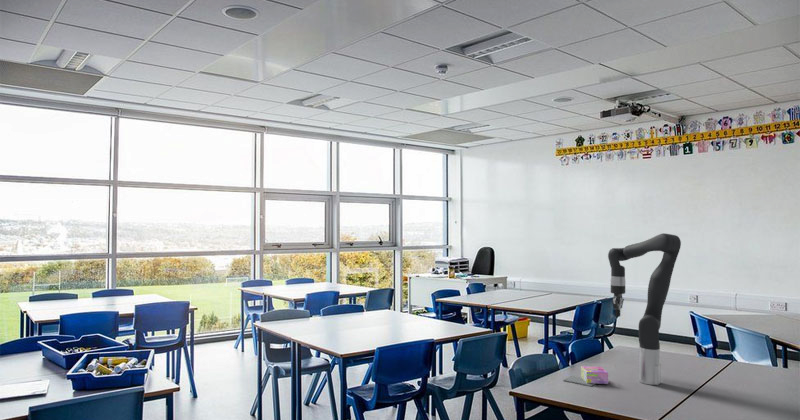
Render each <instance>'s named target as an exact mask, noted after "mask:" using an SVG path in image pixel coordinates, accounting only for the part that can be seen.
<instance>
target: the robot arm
mask: <svg viewBox="0 0 800 420" xmlns="http://www.w3.org/2000/svg"><path fill="white" fill-rule="evenodd" d="M681 246H682V241H681V239H680V237H679V236H678V235H676V234H671V233H660V234H657V235H655V236H653V237H651V238H648V239H645V240H644V241H641V242H638V243H637V242H635V243H632V244H629V245H626V246H625V247H620V248H619V247H614V248H610V250H609V251H608V254H607V259H608V261H609V265H610V269H611V270H610V272H611V274H610V293H611V294H613V299H612V300H611V303H612V306H613V310H615V317H617V318H618V317H621V309H622V308H623V305H624V301H625V298H623V295H625V294H626V268H625V265H621V263H620V262H625V261H628V260H630V259H636V258H639V257H643V256H645V255H646V254H648V253H650V252H663V255H662V258H661V261H660V262H659V264H658V265H657V266H656V268H655V269H654V270H653V271H652V273H651V275H650V278H649V282H648V287H647V302H646V306H645V307H646V308H645V311H644V313H643V316H642V318H641V319H640V320H639V322H638V343H639V356H638V357H639V359H638V360H639V365H638V366H639V378H638V379H639V382H640V383H641V384H645V385H653V386H659V385H660V384H662V364H661V363H660V361H661V360H660V358H661V356H660V353H661V345H660V344H661V343H660V328H661V324H662V322H661V321H662V316H663V313H662V312H663V308H664V306H665V302H666V299H667V296H668V292H669V289H670V285H671V280H672V275H673V271H674V268H675V264H676V261H677V258H678V256H679V253H680V250H681Z"/></svg>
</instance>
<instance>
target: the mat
mask: <svg viewBox="0 0 800 420" xmlns="http://www.w3.org/2000/svg"><path fill="white" fill-rule="evenodd" d="M563 382H567V383H572V384H576V385H581V386H586V387H590V388H591V387H593V386H596V384H594V383H586V382H585V381H584V380H583V379H582V377H581V376H580V377H578V376H575V375H574V376H573V375H570V376H568V377H566V378H564V379H563Z"/></svg>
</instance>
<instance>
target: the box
mask: <svg viewBox="0 0 800 420" xmlns="http://www.w3.org/2000/svg"><path fill="white" fill-rule="evenodd" d="M580 378H582V379H583V380H584V381H585V382H586V383H594V384H595V385H597V384H599V385H609V372H608V371H607V370H605V368H603V367H602V366H592V365H591V366H588V365H587V366H586V365H585V366H584V365H581V366H580Z"/></svg>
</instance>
